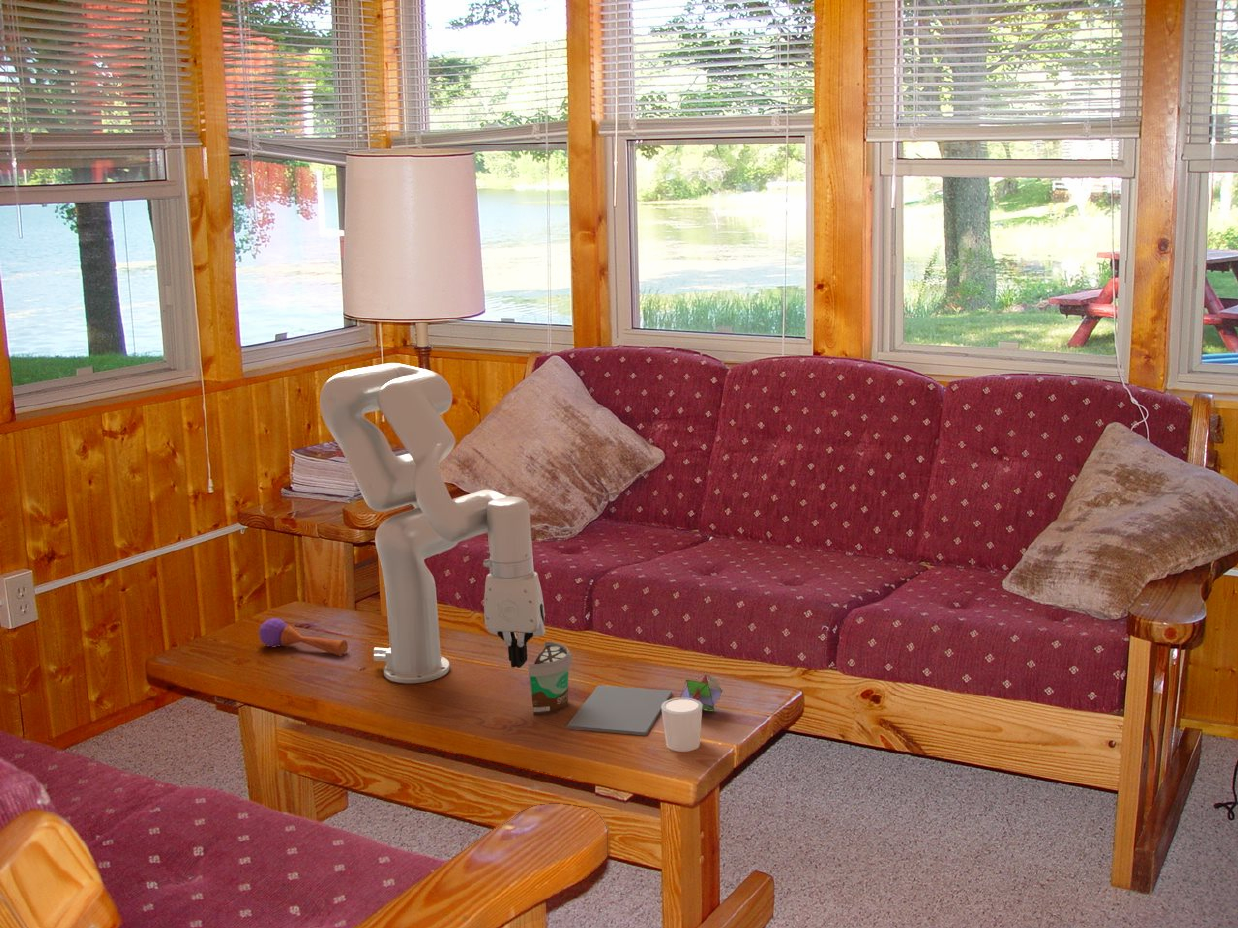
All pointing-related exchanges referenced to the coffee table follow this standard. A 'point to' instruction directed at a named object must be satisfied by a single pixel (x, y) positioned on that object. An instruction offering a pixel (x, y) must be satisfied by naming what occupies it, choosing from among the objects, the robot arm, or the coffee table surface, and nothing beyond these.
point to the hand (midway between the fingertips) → (518, 664)
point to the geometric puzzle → (703, 692)
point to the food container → (550, 679)
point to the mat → (620, 710)
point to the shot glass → (682, 723)
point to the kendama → (296, 637)
